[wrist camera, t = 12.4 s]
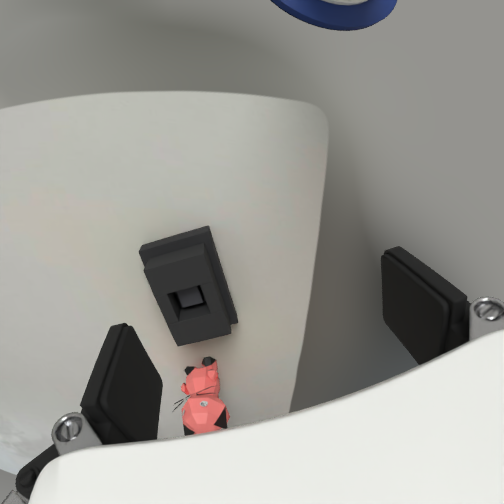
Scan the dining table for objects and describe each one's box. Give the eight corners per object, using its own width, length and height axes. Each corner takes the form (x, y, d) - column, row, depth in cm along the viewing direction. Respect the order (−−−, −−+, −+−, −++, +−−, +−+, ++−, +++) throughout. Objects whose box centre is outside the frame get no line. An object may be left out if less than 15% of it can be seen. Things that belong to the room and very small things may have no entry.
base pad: (142, 245, 34) (135, 256, 31) (208, 225, 34) (208, 235, 31) (177, 329, 39) (174, 345, 35) (236, 314, 39) (239, 330, 36)
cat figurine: (210, 344, 40) (212, 413, 29) (238, 373, 43) (248, 440, 32) (169, 366, 41) (162, 433, 30) (199, 393, 43) (200, 457, 32)
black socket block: (148, 258, 33) (143, 270, 30) (204, 242, 33) (203, 253, 30) (179, 331, 36) (177, 346, 34) (229, 318, 37) (231, 333, 34)
